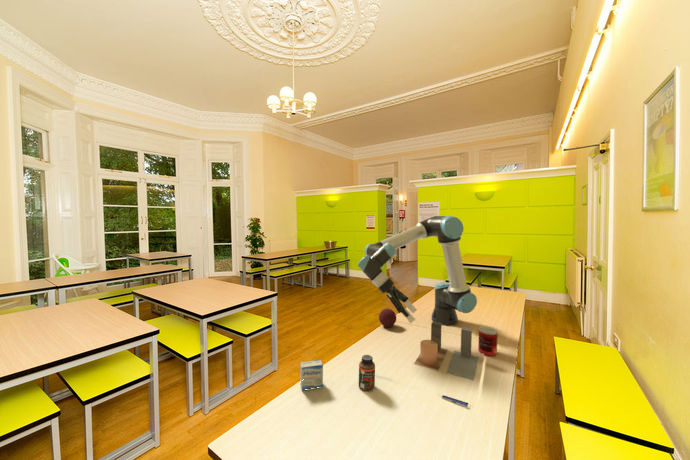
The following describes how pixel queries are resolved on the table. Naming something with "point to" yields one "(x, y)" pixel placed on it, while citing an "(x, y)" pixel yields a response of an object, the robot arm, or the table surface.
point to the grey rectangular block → (464, 358)
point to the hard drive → (455, 401)
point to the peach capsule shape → (428, 352)
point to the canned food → (487, 341)
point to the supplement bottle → (367, 373)
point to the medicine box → (311, 374)
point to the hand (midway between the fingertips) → (414, 316)
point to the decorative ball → (387, 317)
